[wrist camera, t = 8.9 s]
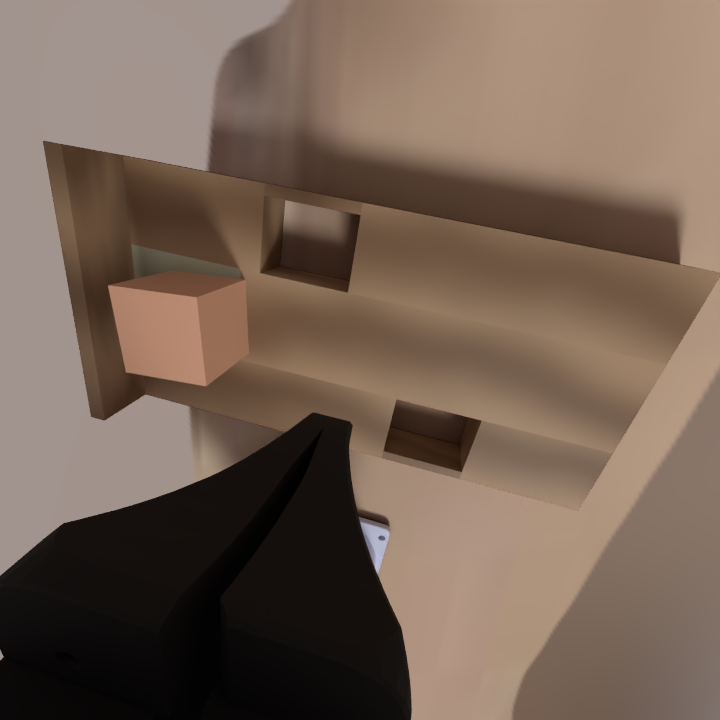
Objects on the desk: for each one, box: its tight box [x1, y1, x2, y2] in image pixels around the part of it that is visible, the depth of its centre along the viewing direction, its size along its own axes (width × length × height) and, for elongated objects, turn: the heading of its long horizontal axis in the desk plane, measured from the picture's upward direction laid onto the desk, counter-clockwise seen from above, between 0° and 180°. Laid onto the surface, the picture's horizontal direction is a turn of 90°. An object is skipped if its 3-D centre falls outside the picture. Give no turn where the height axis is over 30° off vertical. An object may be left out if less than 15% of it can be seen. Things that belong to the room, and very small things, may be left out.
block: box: [108, 271, 249, 386], centre depth 17 cm, size 4×4×4 cm
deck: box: [43, 141, 720, 511], centre depth 17 cm, size 13×27×6 cm, turn 80°
